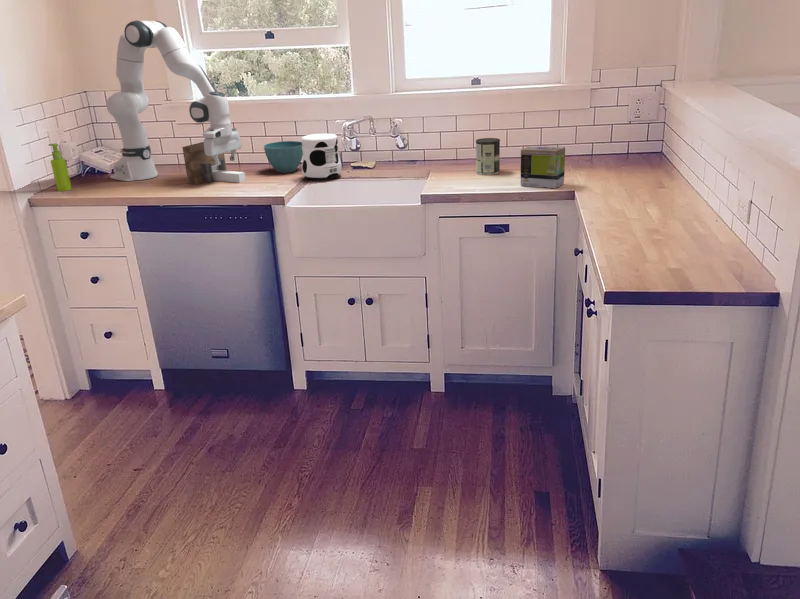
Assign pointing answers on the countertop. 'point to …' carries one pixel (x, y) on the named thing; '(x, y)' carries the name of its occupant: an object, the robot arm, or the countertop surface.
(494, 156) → the coffee can
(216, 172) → the white t-shaped piece
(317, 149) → the milk container
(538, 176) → the tea box
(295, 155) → the teal bowl
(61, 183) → the soap dispenser
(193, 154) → the brown wooden block
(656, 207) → the countertop surface
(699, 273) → the countertop surface
